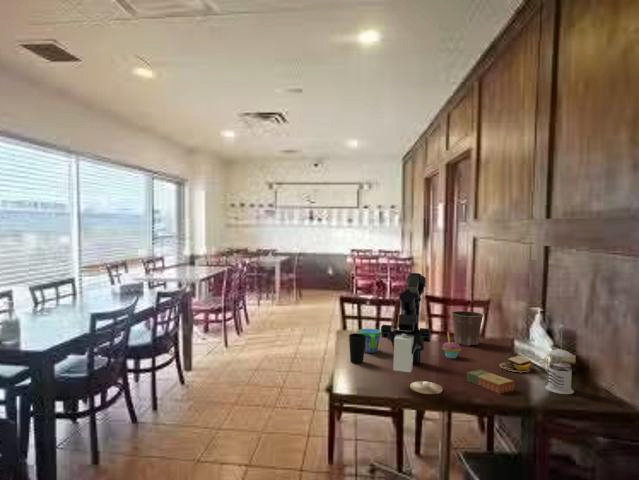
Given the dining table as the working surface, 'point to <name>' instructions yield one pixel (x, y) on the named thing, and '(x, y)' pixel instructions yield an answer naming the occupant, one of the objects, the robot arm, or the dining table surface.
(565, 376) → the french press
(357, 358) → the cup
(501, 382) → the carton
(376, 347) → the snack cup
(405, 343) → the cover
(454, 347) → the cupcake
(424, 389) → the cork mat
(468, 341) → the plant pot
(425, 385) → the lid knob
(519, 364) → the toy sandwich meal
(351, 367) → the dining table surface
